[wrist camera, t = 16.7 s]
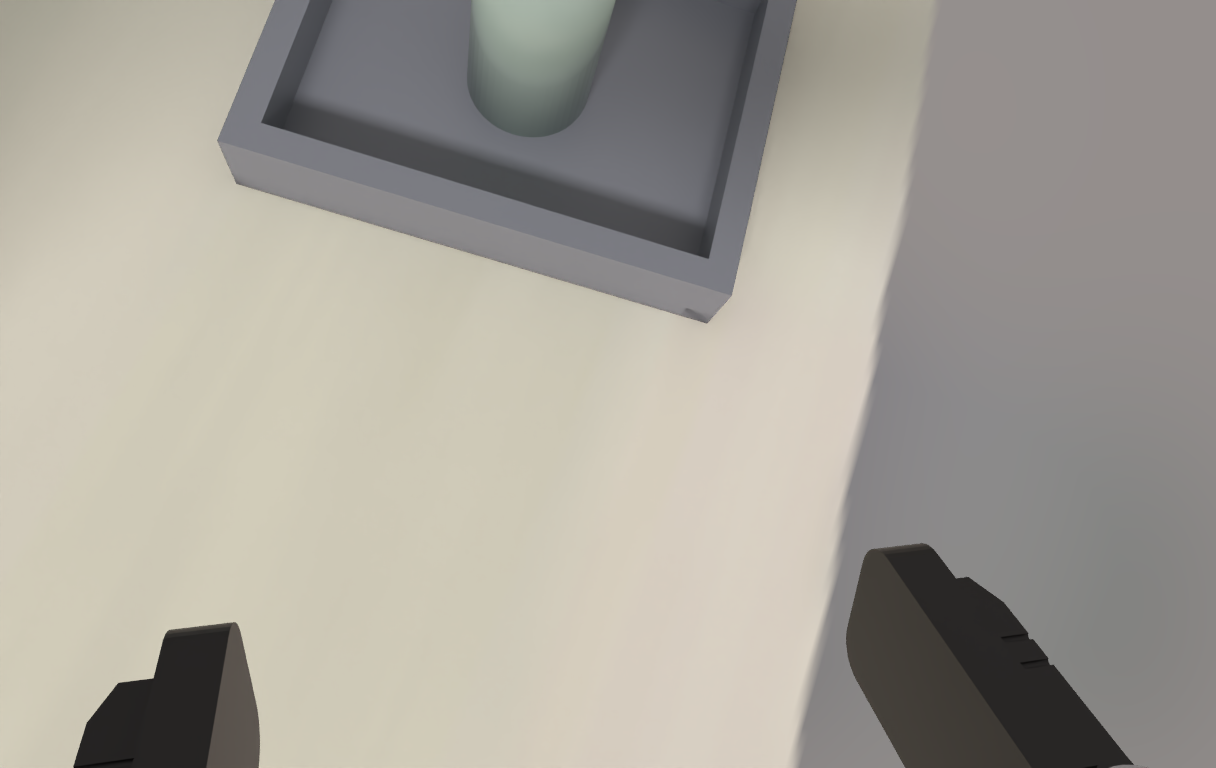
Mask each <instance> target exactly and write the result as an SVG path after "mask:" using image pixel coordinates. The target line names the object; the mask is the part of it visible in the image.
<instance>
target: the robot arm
mask: <svg viewBox="0 0 1216 768" xmlns="http://www.w3.org/2000/svg"><path fill="white" fill-rule="evenodd" d="M846 645H847V653H848V658H849V662H850V666H851V669H852V671H853V674H854V676H855V678H856V680H857V682H858V684H859V685H860V687H861V689H862V691H863V692H864V694H865V696H866V698H867V700H868V702H869V703H870V705H871V707H872V709H873V711H874V712H875V714H876V716H877V718H878V720H879V721H880V723H881V725H882V727H883V728H884V730H885V732H886V734H887V735H888V737H889V739H890V741H891V743H892V745H893V746H894V748H895V750H896V752H897V754H898V755H899V757H900V759H901V761H902V763H903V764H904V766H905V768H1147V767H1143V766H1137V765H1134V764H1133V763H1132V762H1131V761H1130V760H1129V759H1128V757H1127V756H1126V755H1125V754H1124V752H1123V751H1122V750H1121V749H1120V747H1119V746H1118V745H1117V744H1116V742H1115V741H1114V740H1113V739H1112V737H1111V736H1110V735H1109V734H1108V732H1107V731H1106V730H1105V729H1104V728H1103V726H1102V725H1101V724H1100V722H1099V721H1098V720H1097V719H1096V717H1095V716H1094V715H1093V714H1092V713H1091V711H1090V710H1089V709H1088V708H1087V706H1086V705H1085V704H1084V703H1083V701H1082V700H1081V699H1080V697H1079V696H1078V695H1077V694H1076V692H1075V691H1074V690H1073V689H1072V687H1071V686H1070V685H1069V684H1068V682H1067V681H1066V680H1065V679H1064V677H1063V676H1062V675H1061V674H1060V672H1059V671H1058V670H1057V669H1056V667H1055V666H1054V665H1050V664H1049V662H1048V657H1047V656H1046V655H1045V654H1044V652H1043V651H1042V650H1041V649H1040V647H1039V646H1038V645H1037V643H1036V642H1035V641H1034V640H1033V639H1031V640H1030V639H1029V638H1028V632H1027V631H1026V630H1025V629H1024V627H1023V626H1022V625H1021V624H1020V622H1019V621H1018V620H1017V618H1016V617H1015V616H1014V615H1013V614H1012V612H1011V611H1010V610H1009V608H1008V607H1007V606H1006V605H1005V604H1004V602H1002V601H1001V600H1000V599H998V598H997V597H996V596H994V595H993V594H991V593H990V592H988V591H987V590H986V589H984V588H983V587H981V586H980V585H978V584H977V583H976V582H974V581H973V580H972V579H970V578H969V577H965V578H957V579H956V578H955V577H954V575H953V574H952V573H951V571H950V570H949V569H948V567H947V566H946V565H945V563H944V562H943V561H942V560H941V558H940V557H939V556H938V554H937V553H936V552H935V551H934V549H932V548H931V547H930V546H929V545H927V544H923V543H920V544H912V545H904V546H895V547H887V548H878V549H871V550H870V551H868V552H867V554H866V556H865V558H864V560H863V564H862V568H861V572H860V577H859V581H858V585H857V590H856V594H855V598H854V602H853V606H852V611H851V615H850V619H849V623H848V627H847V634H846ZM259 754H260V732H259V718H258V711H257V705H256V701H255V696H254V692H253V687H252V683H251V678H250V673H249V669H248V664H247V660H246V655H245V651H244V646H243V641H242V637H241V633H240V629H239V626H238V625H237V623H236V622H233V623H225V624H216V625H208V626H199V627H191V628H182V629H174V630H169V631H167V633H166V634H165V637H164V639H163V643H162V647H161V651H160V655H159V659H158V663H157V667H156V671H155V675H154V679H146V680H138V681H130V682H122V683H118V684H117V685H116V687H115V688H114V689H113V691H112V692H111V693H110V694H109V696H108V697H107V698H106V699H105V701H104V702H103V703H102V704H101V706H100V707H99V708H98V709H97V711H96V712H95V713H94V715H93V716H92V717H91V718H90V720H89V721H88V722H87V724H86V727H85V730H84V734H83V737H82V740H81V743H80V747H79V750H78V753H77V756H76V760H75V763H74V766H73V767H74V768H258V767H259Z"/></svg>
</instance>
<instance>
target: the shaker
mask: <svg viewBox="0 0 1216 768" xmlns="http://www.w3.org/2000/svg"><path fill="white" fill-rule="evenodd" d="M615 1H616V0H471V14H470V32H469V50H468V68H467V85H468V90H469V93H470V96H471V99H472V101H473V103H474V105H475V106H476V108H477V109H478V111H479V112H480V113H481V114H482V115H483V117H484V118H486V119H487V120H488V121H489V122H490V123H491V124H493V125H494V126H496V127H497V128H499V129H501V130H503V131H505V132H508V133H511V134H514V135H518V136H523V137H544V136H549V135H552V134H555V133H558V132H560V131H562V130H564V129H566V128H567V127H568V126H570V125H571V124H572V123H573V122H574V121H575V120H577V118H578V117H579V116H580V114H581V113H582V111H583V109H584V108H585V105H586V102H587V99H588V96H589V92H590V89H591V85H592V82H593V78H594V75H595V71H596V68H597V64H598V61H599V57H600V54H601V50H602V47H603V43H604V40H605V36H606V33H607V29H608V26H609V22H610V19H611V15H612V12H613V8H614V5H615Z"/></svg>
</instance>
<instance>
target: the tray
mask: <svg viewBox="0 0 1216 768" xmlns="http://www.w3.org/2000/svg"><path fill="white" fill-rule="evenodd" d="M796 1H797V0H616V1H615V5H614V8H613V12H612V15H611V19H610V22H609V26H608V29H607V33H606V36H605V40H604V43H603V47H602V50H601V54H600V57H599V61H598V64H597V68H596V71H595V75H594V78H593V82H592V85H591V89H590V92H589V96H588V99H587V102H586V105H585V108H584V109H583V111H582V113H581V114H580V116H579V117H578V118H577V120H575V121H574V122H573V123H572V124H571V125H570V126H568V127H567V128H566V129H564V130H562V131H560V132H558V133H555V134H552V135H549V136H544V137H523V136H518V135H514V134H511V133H508V132H505V131H503V130H501V129H499V128H497V127H496V126H494V125H493V124H491V123H490V122H489V121H488V120H487V119H486V118H484V117H483V115H482V114H481V113H480V112H479V111H478V109H477V108H476V106H475V105H474V103H473V101H472V99H471V96H470V93H469V90H468V85H467V68H468V50H469V32H470V14H471V0H275V2H274V4H273V7H272V9H271V12H270V14H269V17H268V19H267V21H266V24H265V26H264V29H263V31H262V34H261V36H260V38H259V41H258V43H257V46H256V48H255V50H254V53H253V55H252V58H251V60H250V63H249V65H248V67H247V70H246V72H245V75H244V77H243V80H242V82H241V84H240V87H239V89H238V92H237V94H236V97H235V99H234V101H233V104H232V106H231V109H230V111H229V113H228V116H227V118H226V121H225V123H224V126H223V128H222V130H221V133H220V135H219V138H218V140H217V141H218V143H219V146H220V148H221V150H222V152H223V155H224V157H225V159H226V161H227V163H228V166H229V168H230V170H231V172H232V175H233V177H234V179H235V181H236V184H240V185H243V186H246V187H250V188H253V189H256V190H260V191H263V192H266V193H270V194H273V195H277V196H280V197H283V198H287V199H290V200H293V201H297V202H300V203H303V204H307V205H310V206H314V207H317V208H320V209H324V210H327V211H330V212H334V213H337V214H341V215H344V216H347V217H351V218H354V219H357V220H361V221H364V222H367V223H371V224H374V225H378V226H381V227H384V228H388V229H391V230H394V231H398V232H401V233H404V234H408V235H411V236H415V237H418V238H421V239H425V240H428V241H431V242H435V243H438V244H442V245H445V246H448V247H452V248H455V249H458V250H462V251H465V252H468V253H472V254H475V255H479V256H482V257H485V258H489V259H492V260H495V261H499V262H502V263H505V264H509V265H512V266H516V267H519V268H522V269H526V270H529V271H532V272H536V273H539V274H543V275H546V276H549V277H553V278H556V279H559V280H563V281H566V282H569V283H573V284H576V285H580V286H583V287H586V288H590V289H593V290H596V291H600V292H603V293H606V294H610V295H613V296H617V297H620V298H623V299H627V300H630V301H633V302H637V303H640V304H644V305H647V306H650V307H654V308H657V309H660V310H664V311H667V312H670V313H674V314H677V315H681V316H684V317H687V318H691V319H694V320H697V321H701V322H704V323H708V322H709V321H710V319H711V318H712V317H713V316H714V315H715V314H716V313H717V312H718V310H719V309H720V308H721V307H722V306H723V305H724V304H725V303H726V301H727V300H728V299H729V298H730V297H731V296H732V292H733V287H734V283H735V278H736V274H737V269H738V265H739V260H740V256H741V251H742V246H743V242H744V237H745V233H746V228H747V224H748V219H749V215H750V210H751V206H752V201H753V197H754V192H755V187H756V183H757V178H758V174H759V169H760V165H761V160H762V156H763V151H764V147H765V142H766V138H767V133H768V128H769V124H770V119H771V115H772V110H773V106H774V101H775V97H776V92H777V88H778V83H779V79H780V74H781V69H782V65H783V60H784V56H785V51H786V47H787V42H788V38H789V33H790V29H791V24H792V19H793V15H794V10H795V6H796Z"/></svg>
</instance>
